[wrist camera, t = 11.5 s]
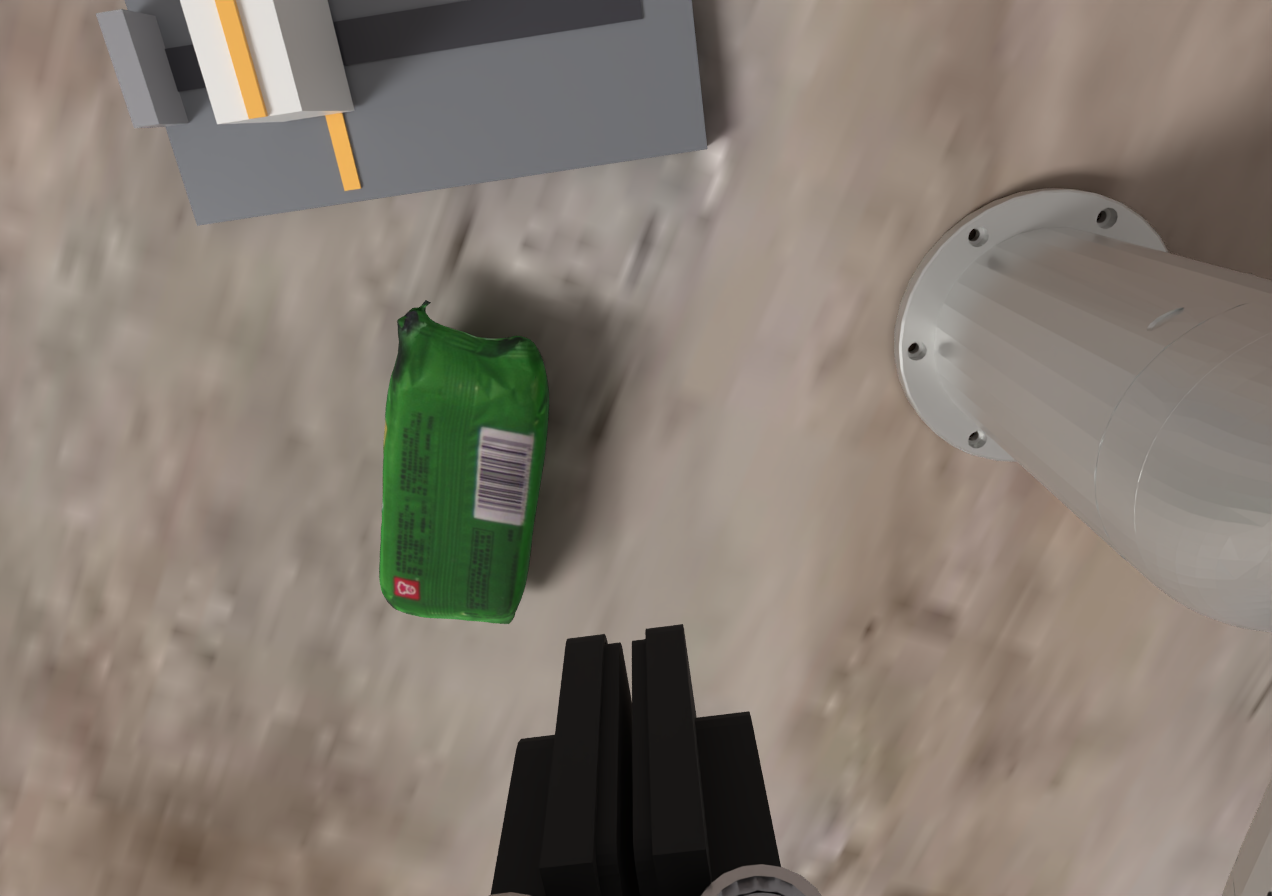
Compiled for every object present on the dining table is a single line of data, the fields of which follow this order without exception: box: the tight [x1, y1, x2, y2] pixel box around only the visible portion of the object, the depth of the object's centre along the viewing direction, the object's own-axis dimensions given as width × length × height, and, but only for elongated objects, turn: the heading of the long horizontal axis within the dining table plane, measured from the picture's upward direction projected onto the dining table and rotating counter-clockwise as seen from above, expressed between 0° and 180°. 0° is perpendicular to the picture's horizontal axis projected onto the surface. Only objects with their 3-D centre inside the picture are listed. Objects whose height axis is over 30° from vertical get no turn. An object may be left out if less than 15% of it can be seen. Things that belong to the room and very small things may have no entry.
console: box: [96, 0, 707, 226], centre depth 34 cm, size 22×12×4 cm, turn 98°
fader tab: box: [180, 0, 355, 124], centre depth 31 cm, size 3×5×6 cm, turn 8°
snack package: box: [379, 300, 549, 624], centre depth 40 cm, size 7×16×5 cm, turn 171°
